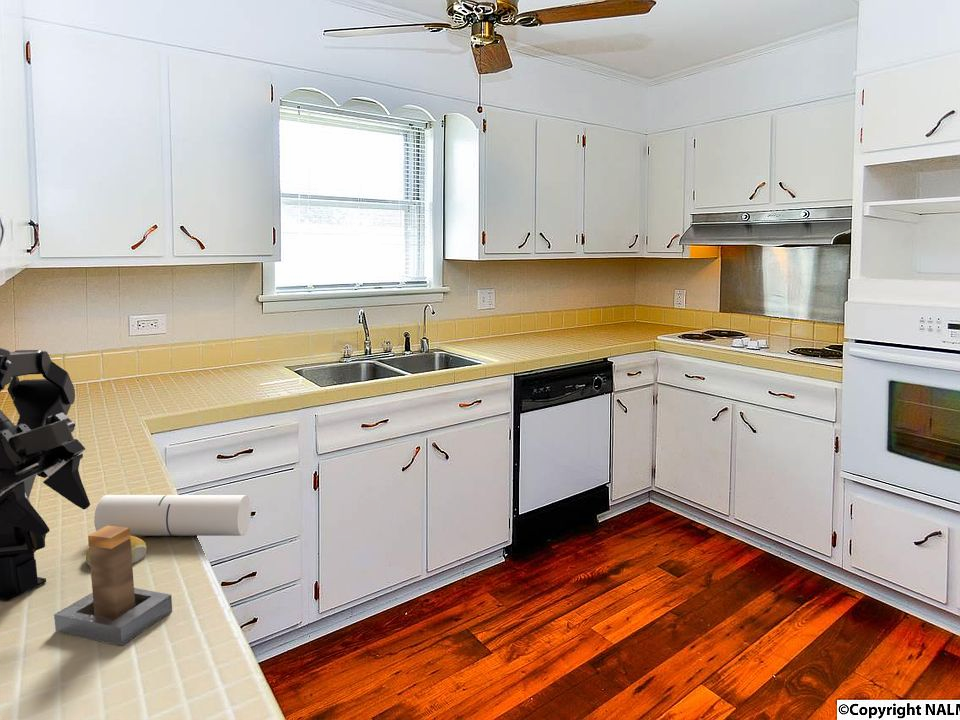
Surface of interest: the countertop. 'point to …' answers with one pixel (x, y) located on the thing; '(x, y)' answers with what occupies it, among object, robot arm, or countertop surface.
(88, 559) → the bread roll
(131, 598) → the walnut pin
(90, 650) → the countertop surface
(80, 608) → the grey rectangular frame
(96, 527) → the cylindrical container
